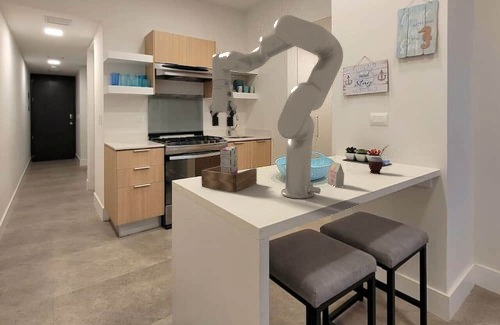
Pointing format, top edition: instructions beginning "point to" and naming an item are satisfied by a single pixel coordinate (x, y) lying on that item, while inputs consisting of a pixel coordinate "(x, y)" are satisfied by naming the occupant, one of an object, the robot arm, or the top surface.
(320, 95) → the robot arm
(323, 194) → the top surface
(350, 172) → the top surface
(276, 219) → the top surface
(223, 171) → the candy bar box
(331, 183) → the toy house
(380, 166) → the mate gourd
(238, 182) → the walnut crate
